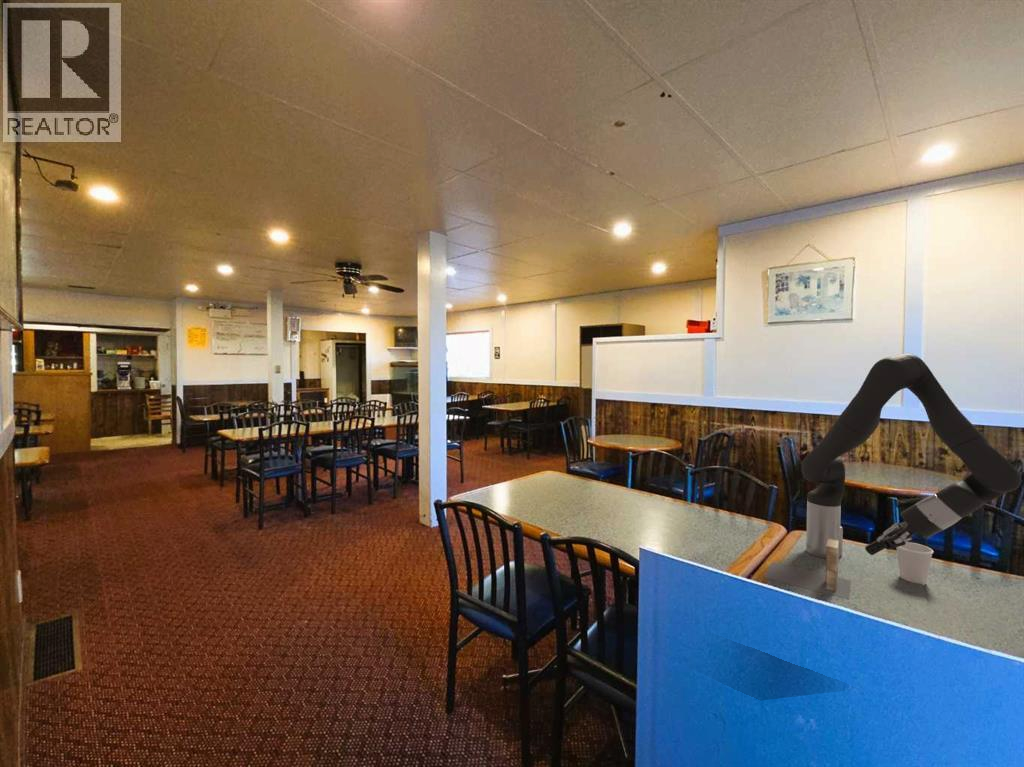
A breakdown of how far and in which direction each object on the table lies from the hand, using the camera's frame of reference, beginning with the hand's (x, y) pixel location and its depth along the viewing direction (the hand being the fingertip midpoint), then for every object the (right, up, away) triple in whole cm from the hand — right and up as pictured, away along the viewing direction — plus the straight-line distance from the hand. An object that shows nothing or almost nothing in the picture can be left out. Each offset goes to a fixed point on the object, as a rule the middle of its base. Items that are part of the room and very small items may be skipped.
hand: (867, 551), depth 120 cm
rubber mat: (-11, -12, +9) cm, 18 cm away
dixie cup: (+21, -12, +9) cm, 26 cm away
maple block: (-6, -12, +5) cm, 14 cm away
